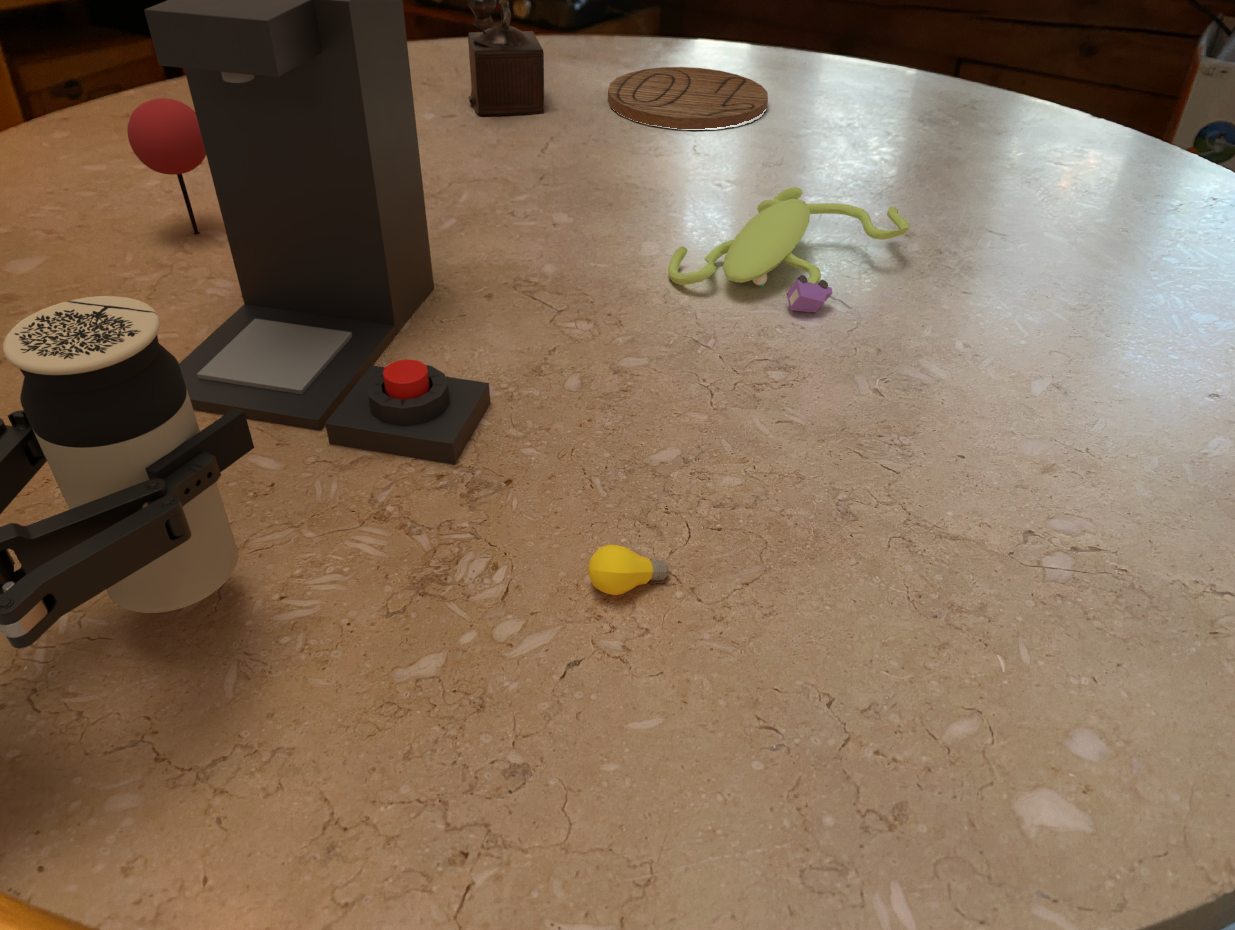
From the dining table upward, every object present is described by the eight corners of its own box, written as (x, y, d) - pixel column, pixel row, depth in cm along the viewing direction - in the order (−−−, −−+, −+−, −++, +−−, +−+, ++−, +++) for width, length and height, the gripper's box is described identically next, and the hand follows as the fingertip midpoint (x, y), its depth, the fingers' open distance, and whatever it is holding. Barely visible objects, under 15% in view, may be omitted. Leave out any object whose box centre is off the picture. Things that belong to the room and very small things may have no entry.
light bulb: (577, 581, 66) (586, 535, 65) (653, 582, 69) (663, 538, 68) (593, 603, 63) (603, 555, 62) (672, 604, 66) (683, 557, 65)
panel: (329, 444, 78) (320, 405, 75) (374, 385, 85) (368, 347, 82) (454, 465, 76) (450, 425, 74) (490, 403, 83) (487, 365, 80)
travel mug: (185, 631, 57) (87, 384, 45) (78, 597, 59) (-42, 352, 47) (264, 545, 63) (195, 307, 51) (165, 517, 65) (77, 282, 53)
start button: (378, 397, 77) (375, 379, 76) (396, 374, 80) (393, 356, 79) (419, 403, 77) (417, 385, 75) (435, 379, 79) (434, 362, 78)
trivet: (774, 87, 155) (775, 75, 154) (757, 139, 136) (758, 125, 135) (627, 73, 159) (627, 61, 158) (590, 121, 140) (590, 108, 139)
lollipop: (203, 214, 112) (168, 84, 102) (244, 231, 108) (212, 98, 99) (145, 236, 107) (103, 102, 98) (186, 255, 104) (147, 118, 94)
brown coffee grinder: (466, 95, 148) (456, -32, 137) (535, 92, 150) (532, -33, 139) (476, 129, 136) (467, -6, 125) (551, 125, 138) (549, -8, 127)
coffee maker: (151, 403, 82) (22, 37, 63) (294, 269, 102) (229, -40, 83) (320, 431, 79) (239, 58, 60) (434, 288, 99) (399, -26, 80)
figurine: (919, 252, 108) (930, 206, 105) (794, 340, 92) (802, 289, 89) (784, 206, 118) (790, 163, 114) (649, 279, 102) (652, 231, 98)
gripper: (-286, 633, 48) (95, 407, 64) (-21, 813, 41) (334, 507, 56) (-380, 525, 43) (56, 310, 59) (-100, 707, 36) (311, 406, 52)
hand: (191, 407), depth 58 cm, fingers closed on travel mug, 8 cm apart
